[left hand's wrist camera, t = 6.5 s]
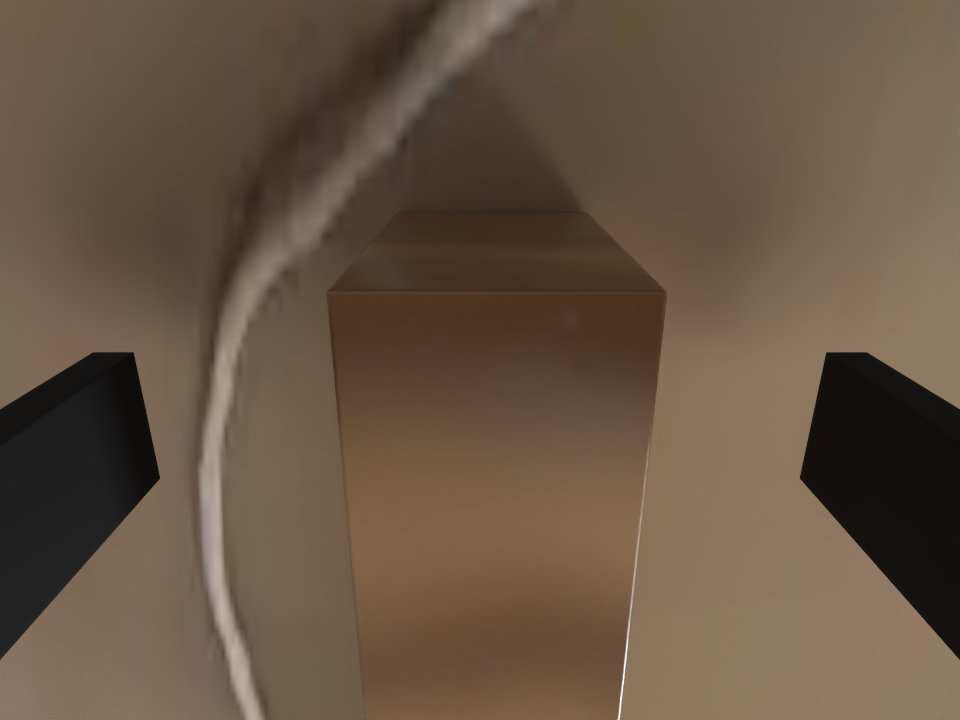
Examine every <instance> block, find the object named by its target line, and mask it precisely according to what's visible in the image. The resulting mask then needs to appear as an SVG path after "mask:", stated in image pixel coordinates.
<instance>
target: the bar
mask: <svg viewBox="0 0 960 720" xmlns="http://www.w3.org/2000/svg"><path fill="white" fill-rule="evenodd" d="M666 300H667V293H666V291H665V290H664V289H663V288H662V287H661V286H660V285H659V284H658V283H657V282H656V281H655V280H654V279H653V278H652V277H651V276H650V275H649V274H648V273H647V272H646V271H645V270H644V269H643V268H642V267H641V266H640V265H639V264H638V263H637V262H636V261H635V260H634V259H633V258H632V257H631V256H630V255H629V254H628V253H627V252H626V251H625V250H624V249H623V248H622V247H621V246H620V245H619V244H618V243H617V242H616V241H615V240H614V239H613V238H612V237H611V236H610V235H609V234H608V233H607V232H606V231H605V230H604V229H603V228H602V227H601V226H600V225H599V224H598V223H597V222H596V221H595V220H594V219H593V218H592V217H591V216H590V215H589V214H588V213H511V212H399V213H398V214H397V215H396V216H395V217H394V218H393V219H392V220H391V221H390V222H389V223H388V225H387V226H386V227H385V228H384V229H383V230H382V231H381V232H380V233H379V234H378V236H377V237H376V238H375V239H374V240H373V241H372V242H371V243H370V244H369V245H368V247H367V248H366V249H365V250H364V251H363V252H362V253H361V254H360V255H359V256H358V258H357V259H356V260H355V261H354V262H353V263H352V264H351V265H350V266H349V268H348V269H347V270H346V271H345V272H344V273H343V274H342V275H341V276H340V277H339V279H338V280H337V281H336V282H335V283H334V284H333V285H332V286H331V287H330V288H329V290H328V292H327V303H328V314H329V325H330V336H331V347H332V358H333V369H334V380H335V391H336V402H337V413H338V424H339V435H340V446H341V457H342V468H343V479H344V490H345V501H346V512H347V523H348V534H349V545H350V556H351V567H352V578H353V589H354V600H355V611H356V622H357V633H358V644H359V655H360V666H361V677H362V688H363V699H364V710H365V720H620V715H621V706H622V697H623V688H624V679H625V670H626V661H627V652H628V643H629V634H630V625H631V616H632V607H633V598H634V589H635V580H636V571H637V562H638V553H639V544H640V535H641V526H642V517H643V508H644V499H645V490H646V481H647V472H648V463H649V454H650V445H651V436H652V427H653V417H654V408H655V399H656V390H657V381H658V372H659V363H660V354H661V345H662V336H663V327H664V318H665V309H666Z"/></svg>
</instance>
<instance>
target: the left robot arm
mask: <svg viewBox="0 0 960 720" xmlns="http://www.w3.org/2000/svg"><path fill="white" fill-rule="evenodd" d="M159 479H160V475H159V471H158V466H157V461H156V456H155V452H154V447H153V442H152V437H151V433H150V428H149V423H148V418H147V414H146V409H145V404H144V399H143V395H142V390H141V385H140V380H139V376H138V371H137V366H136V362H135V357H134V352H93V353H92V354H90V355H88V356H87V357H85V358H83V359H82V360H80V361H78V362H77V363H75V364H74V365H72V366H70V367H69V368H67V369H65V370H64V371H62V372H60V373H59V374H57V375H56V376H54V377H52V378H51V379H49V380H47V381H46V382H44V383H43V384H41V385H39V386H38V387H36V388H34V389H33V390H31V391H29V392H28V393H26V394H25V395H23V396H21V397H20V398H18V399H16V400H15V401H13V402H12V403H10V404H8V405H7V406H5V407H3V408H2V409H0V660H1V658H2V657H3V656H4V655H5V654H6V653H7V652H8V650H9V649H10V648H11V647H12V646H13V645H14V644H15V643H16V641H17V640H18V639H19V638H20V637H21V636H22V635H23V633H24V632H25V631H26V630H27V629H28V628H29V627H30V625H31V624H32V623H33V622H34V621H35V620H36V619H37V618H38V616H39V615H40V614H41V613H42V612H43V611H44V610H45V608H46V607H47V606H48V605H49V604H50V603H51V602H52V601H53V599H54V598H55V597H56V596H57V595H58V594H59V593H60V591H61V590H62V589H63V588H64V587H65V586H66V585H67V584H68V582H69V581H70V580H71V579H72V578H73V577H74V576H75V574H76V573H77V572H78V571H79V570H80V569H81V568H82V566H83V565H84V564H85V563H86V562H87V561H88V560H89V559H90V557H91V556H92V555H93V554H94V553H95V552H96V551H97V549H98V548H99V547H100V546H101V545H102V544H103V543H104V542H105V540H106V539H107V538H108V537H109V536H110V535H111V534H112V532H113V531H114V530H115V529H116V528H117V527H118V526H119V525H120V523H121V522H122V521H123V520H124V519H125V518H126V517H127V515H128V514H129V513H130V512H131V511H132V510H133V509H134V507H135V506H136V505H137V504H138V503H139V502H140V501H141V500H142V498H143V497H144V496H145V495H146V494H147V493H148V492H149V490H150V489H151V488H152V487H153V486H154V485H155V484H156V483H157V481H158V480H159ZM800 479H801V480H802V481H803V483H804V484H805V485H806V486H807V487H808V488H809V489H810V490H811V492H812V493H813V494H814V495H815V496H816V497H817V498H818V500H819V501H820V502H821V503H822V504H823V505H824V506H825V507H826V509H827V510H828V511H829V512H830V513H831V514H832V515H833V517H834V518H835V519H836V520H837V521H838V522H839V523H840V525H841V526H842V527H843V528H844V529H845V530H846V531H847V532H848V534H849V535H850V536H851V537H852V538H853V539H854V540H855V542H856V543H857V544H858V545H859V546H860V547H861V548H862V549H863V551H864V552H865V553H866V554H867V555H868V556H869V557H870V559H871V560H872V561H873V562H874V563H875V564H876V565H877V566H878V568H879V569H880V570H881V571H882V572H883V573H884V574H885V576H886V577H887V578H888V579H889V580H890V581H891V582H892V584H893V585H894V586H895V587H896V588H897V589H898V590H899V591H900V593H901V594H902V595H903V596H904V597H905V598H906V599H907V601H908V602H909V603H910V604H911V605H912V606H913V607H914V608H915V610H916V611H917V612H918V613H919V614H920V615H921V616H922V618H923V619H924V620H925V621H926V622H927V623H928V624H929V625H930V627H931V628H932V629H933V630H934V631H935V632H936V633H937V635H938V636H939V637H940V638H941V639H942V640H943V641H944V643H945V644H946V645H947V646H948V647H949V648H950V649H951V650H952V652H953V653H954V654H955V655H956V656H957V657H958V658H959V660H960V409H958V408H957V407H955V406H953V405H952V404H950V403H948V402H947V401H945V400H944V399H942V398H940V397H939V396H937V395H935V394H934V393H932V392H931V391H929V390H927V389H926V388H924V387H922V386H921V385H919V384H917V383H916V382H914V381H913V380H911V379H909V378H908V377H906V376H904V375H903V374H901V373H900V372H898V371H896V370H895V369H893V368H891V367H890V366H888V365H886V364H885V363H883V362H882V361H880V360H878V359H877V358H875V357H873V356H872V355H870V354H868V353H867V352H826V357H825V362H824V366H823V371H822V376H821V380H820V385H819V390H818V395H817V399H816V404H815V409H814V414H813V418H812V423H811V428H810V433H809V437H808V442H807V447H806V452H805V456H804V461H803V466H802V470H801V475H800Z"/></svg>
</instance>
